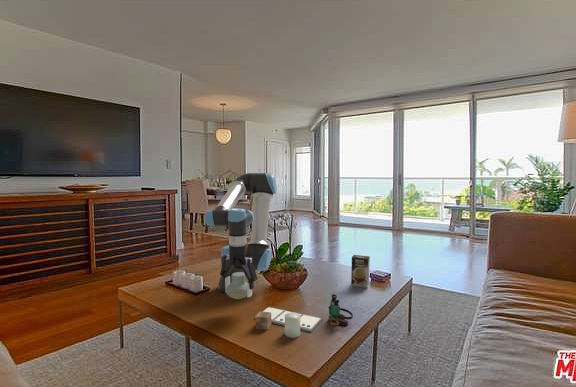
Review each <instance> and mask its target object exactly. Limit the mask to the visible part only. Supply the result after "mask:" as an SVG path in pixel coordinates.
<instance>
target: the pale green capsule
mask: <svg viewBox="0 0 576 387" xmlns="http://www.w3.org/2000/svg"><path fill="white" fill-rule="evenodd" d="M298 313H299V312H296V313H287V314H285V326H284V335H285V336H286V337H288V338H293V339H294V338H298V337H299V336H301V330H300V314H301V313H300V314H298Z"/></svg>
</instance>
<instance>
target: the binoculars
mask: <svg viewBox="0 0 576 387" xmlns="http://www.w3.org/2000/svg"><path fill="white" fill-rule="evenodd" d="M339 302H340V300H339V299H337V294H333V293H332V294H331V299H330V302H329V306H328V314H329V316H328V317H327V318H328V319H327V320H328V321H330V326H333V327H334V326H336V325H344V326H348V325H349V321H348V320H352V319H353V318H354V316H353V313H352V311H350V310H348V309H346V308H343V307H341V306H340V304H339ZM341 311H343V312H346V313H347V314H349V315H350V316H345V315H344V314H341Z"/></svg>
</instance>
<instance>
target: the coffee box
mask: <svg viewBox="0 0 576 387" xmlns="http://www.w3.org/2000/svg"><path fill="white" fill-rule="evenodd" d="M370 259H371V258H370V256H369V255H359V254H353V255H352V256H351V272H350V273H351V276H350V277H351V278H350V280H351V281H350V282H351V284H350V286H351V287H356V288H357V287H359V288H365V289H368V287H369V285H370Z"/></svg>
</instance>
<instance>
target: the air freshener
mask: <svg viewBox="0 0 576 387" xmlns="http://www.w3.org/2000/svg"><path fill="white" fill-rule="evenodd" d="M245 281H246V276H245V274H244V272H236V273H233V274H232V283H230V284H229V285H228V286H227V288H226V293H225V294H226V295H227V297H230V298H232V299H235V300H240V299H244V298H247V281H246V282H245Z"/></svg>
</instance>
